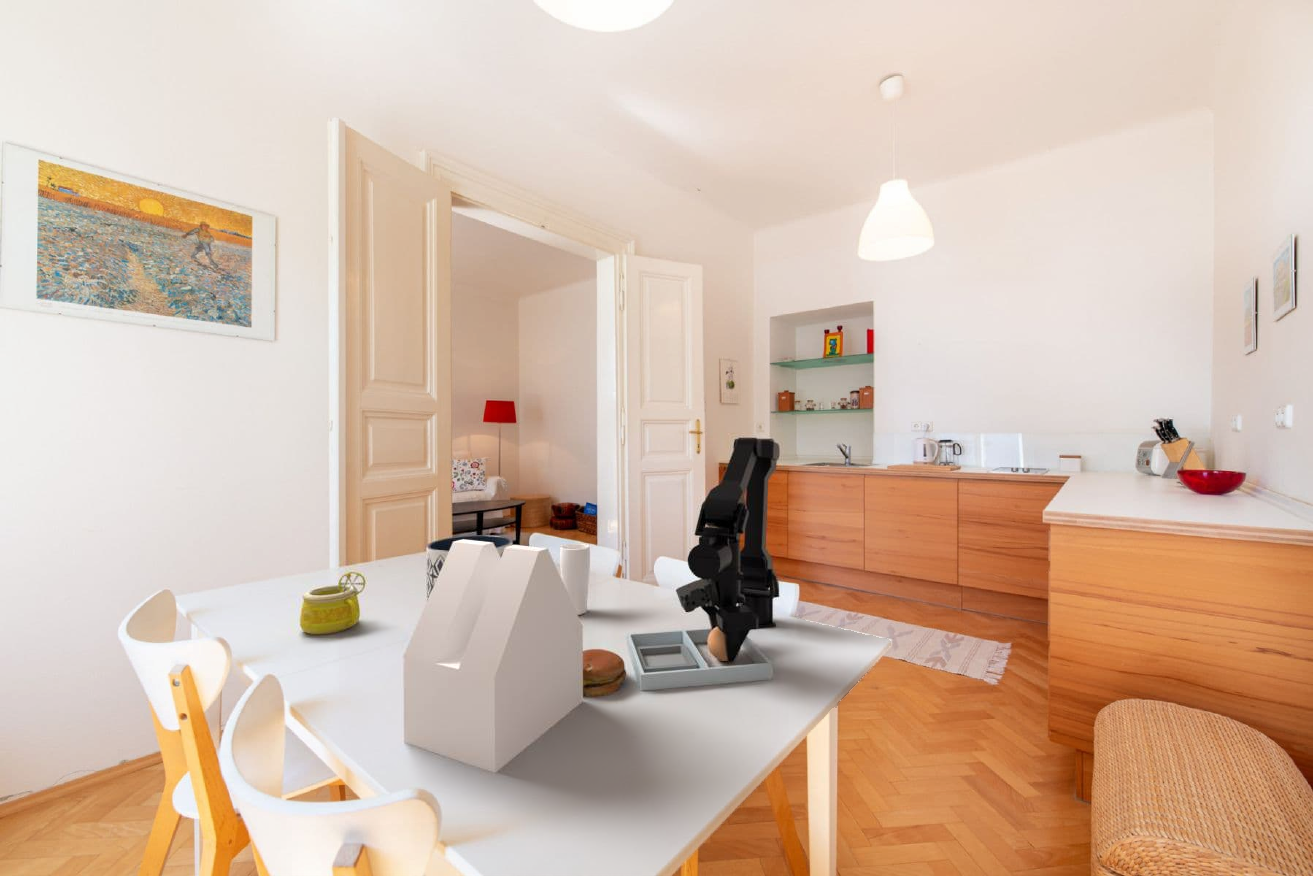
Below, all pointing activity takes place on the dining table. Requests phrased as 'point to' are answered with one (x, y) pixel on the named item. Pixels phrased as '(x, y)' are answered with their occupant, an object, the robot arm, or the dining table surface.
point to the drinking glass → (576, 573)
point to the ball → (717, 644)
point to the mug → (331, 607)
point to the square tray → (665, 658)
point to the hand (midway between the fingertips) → (724, 652)
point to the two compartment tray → (703, 673)
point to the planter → (441, 548)
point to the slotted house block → (492, 655)
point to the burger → (602, 672)
